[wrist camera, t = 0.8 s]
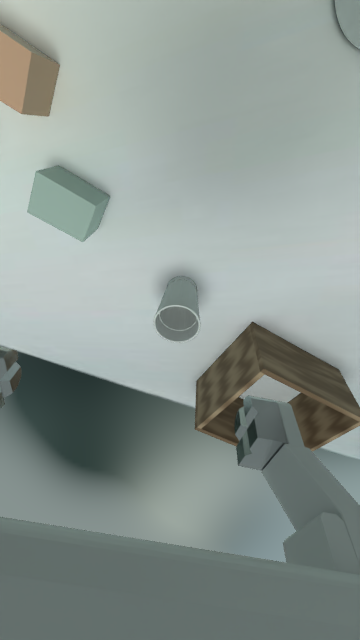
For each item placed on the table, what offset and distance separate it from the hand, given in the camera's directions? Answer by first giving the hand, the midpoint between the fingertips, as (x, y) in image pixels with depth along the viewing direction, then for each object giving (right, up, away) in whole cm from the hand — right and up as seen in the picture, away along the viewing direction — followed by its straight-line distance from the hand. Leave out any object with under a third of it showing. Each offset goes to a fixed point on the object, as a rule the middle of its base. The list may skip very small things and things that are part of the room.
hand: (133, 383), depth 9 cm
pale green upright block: (-16, +23, +36) cm, 46 cm away
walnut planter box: (+23, -12, +58) cm, 63 cm away
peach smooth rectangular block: (-20, +37, +27) cm, 50 cm away
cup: (+2, +8, +45) cm, 46 cm away
